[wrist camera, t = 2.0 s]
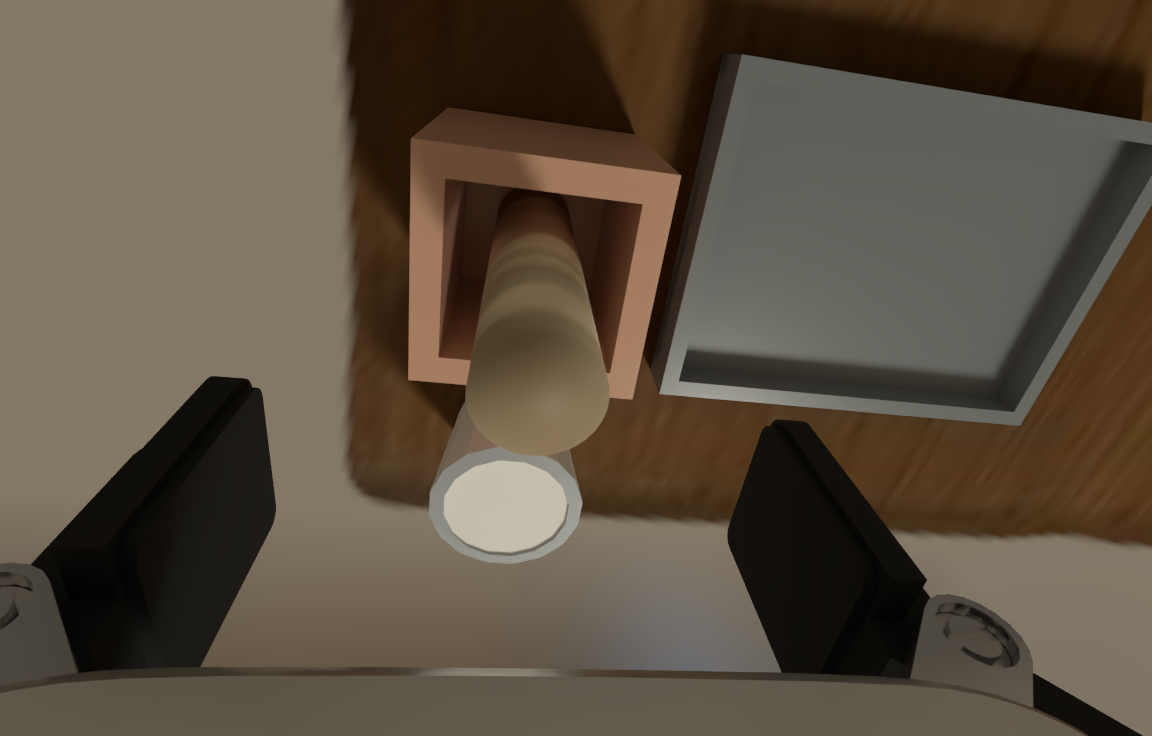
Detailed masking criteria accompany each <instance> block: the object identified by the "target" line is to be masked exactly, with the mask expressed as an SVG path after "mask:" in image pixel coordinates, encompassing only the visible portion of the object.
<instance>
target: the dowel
mask: <svg viewBox="0 0 1152 736" xmlns="http://www.w3.org/2000/svg"><path fill="white" fill-rule="evenodd" d="M609 395H610V390H609V383H608V378H607V374H606V370H605V365H604V361H603V357H602V352H601V348H600V344H599V339H598V335H597V331H596V326H595V322H594V318H593V314H592V309H591V305H590V301H589V296H588V292H587V288H586V283H585V279H584V275H583V271H582V266H581V262H580V258H579V253H578V249H577V245H576V240H575V236H574V232H573V227H572V223H571V219H570V215H569V211H568V207H567V205H566V203H565V201H564V199H563V198H562V197H561V196H560V194H558V193H552V192H545V191H537V190H529V189H522V188H514V189H512V190H511V191H510V192H509V193H508V194H507V195H506V196H505V197H504V199H503V200H502V202H501V204H500V206H499V209H498V215H497V220H496V225H495V231H494V236H493V242H492V247H491V253H490V258H489V264H488V269H487V275H486V280H485V286H484V291H483V297H482V302H481V307H480V313H479V318H478V324H477V329H476V335H475V340H474V346H473V351H472V357H471V362H470V368H469V373H468V379H467V384H466V390H465V399H466V406H467V410H468V413H469V415H470V418H471V420H472V422H473V423H474V425H475V426H476V428H477V429H478V430H479V431H480V432H481V434H482V435H484V436H485V437H486V438H487V439H488V440H489V441H491V442H492V443H494V444H495V445H497V446H499V447H501V448H503V449H505V450H508V451H510V452H514V453H518V454H523V455H532V456H541V455H550V454H556V453H559V452H563V451H566V450H568V449H571V448H573V447H575V446H576V445H578V444H580V443H581V442H583V441H584V440H586V439H587V438H588V437H589V436H590V435H591V434H592V433H593V432H594V431H595V430H596V429H597V428H598V426H599V425H600V423H601V422H602V420H603V418H604V416H605V414H606V411H607V408H608V404H609Z"/></svg>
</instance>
